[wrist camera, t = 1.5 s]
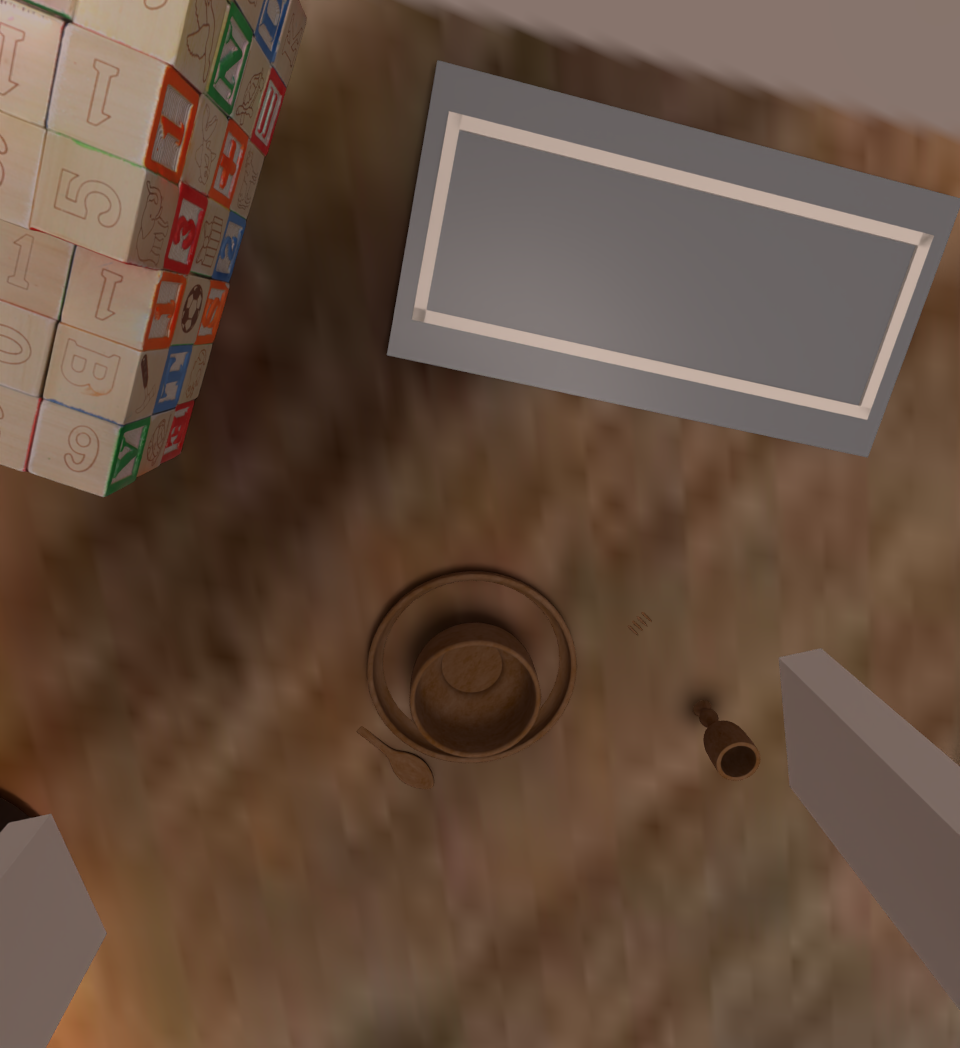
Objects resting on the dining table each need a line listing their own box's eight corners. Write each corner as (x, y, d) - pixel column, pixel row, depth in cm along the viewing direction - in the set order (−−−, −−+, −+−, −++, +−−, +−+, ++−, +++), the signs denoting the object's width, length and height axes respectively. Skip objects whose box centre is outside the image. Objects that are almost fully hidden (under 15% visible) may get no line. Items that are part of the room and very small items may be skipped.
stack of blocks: (185, 457, 36) (64, 524, 24) (62, 414, 35) (-126, 462, 23) (309, 15, 31) (231, -170, 19) (169, -50, 30) (-3, -287, 18)
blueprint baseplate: (388, 354, 35) (386, 355, 34) (437, 67, 32) (437, 58, 31) (857, 454, 38) (869, 458, 37) (948, 202, 35) (965, 198, 34)
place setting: (503, 482, 38) (514, 510, 33) (737, 695, 43) (782, 752, 37) (299, 696, 41) (277, 756, 35) (539, 873, 46) (554, 951, 40)
